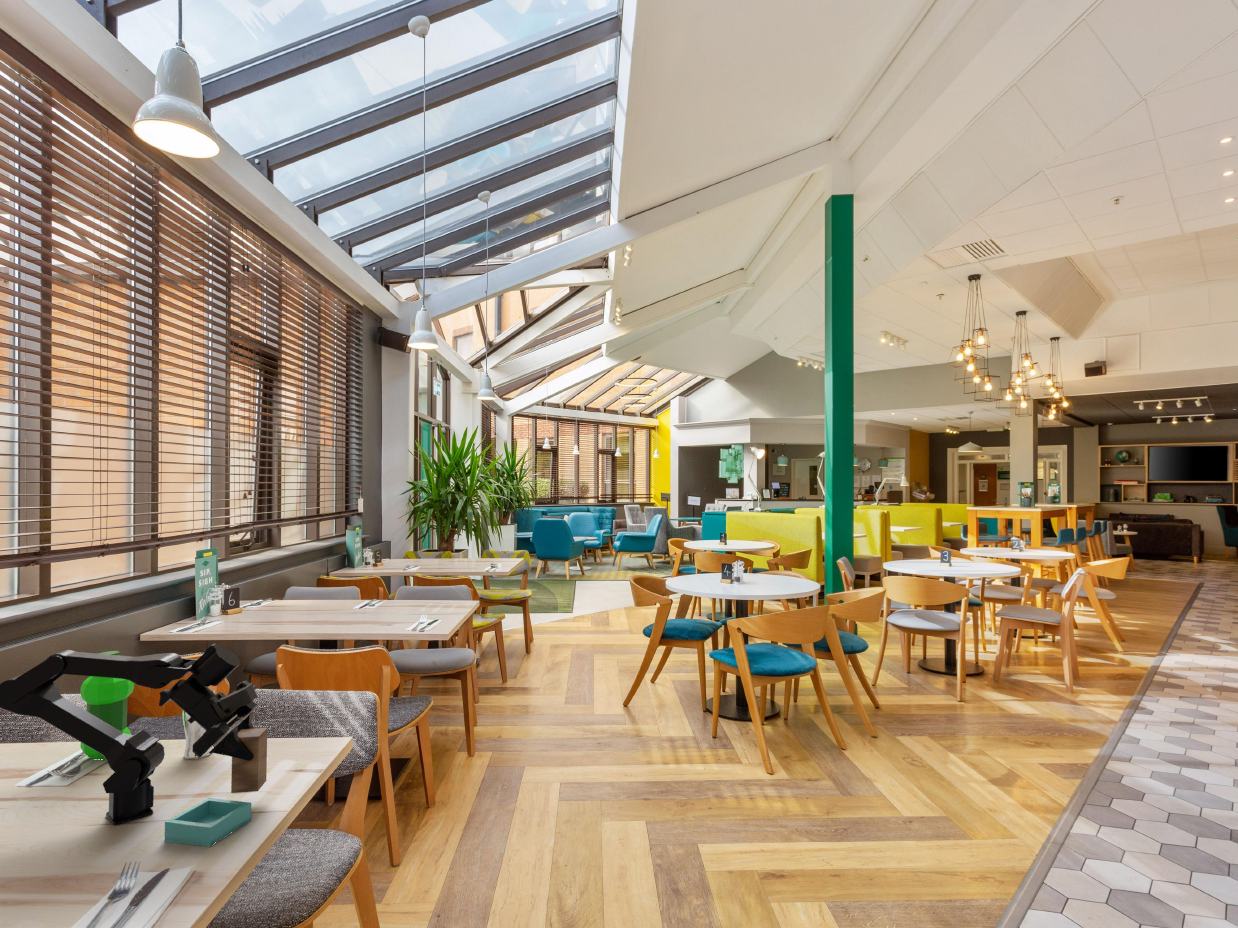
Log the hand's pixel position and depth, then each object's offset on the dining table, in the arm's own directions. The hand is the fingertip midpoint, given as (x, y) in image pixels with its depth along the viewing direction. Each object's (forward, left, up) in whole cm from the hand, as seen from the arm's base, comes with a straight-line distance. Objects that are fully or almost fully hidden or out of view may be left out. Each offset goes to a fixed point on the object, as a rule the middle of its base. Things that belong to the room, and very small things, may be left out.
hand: (257, 753), depth 140 cm
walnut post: (-1, +1, -7) cm, 7 cm away
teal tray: (-10, -4, -10) cm, 15 cm away
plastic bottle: (-13, +55, -11) cm, 57 cm away
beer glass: (+2, +39, -11) cm, 40 cm away
